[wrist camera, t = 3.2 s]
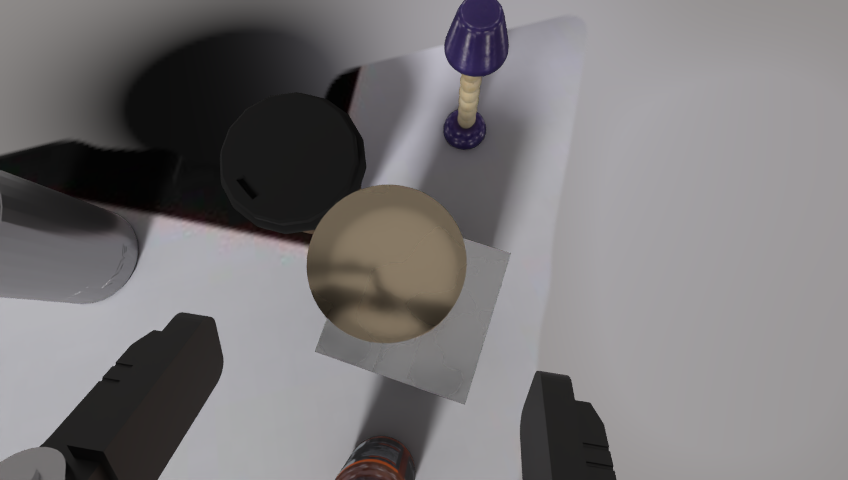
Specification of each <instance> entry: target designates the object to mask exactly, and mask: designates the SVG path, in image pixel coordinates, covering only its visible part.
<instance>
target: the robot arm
mask: <svg viewBox="0 0 848 480" xmlns="http://www.w3.org/2000/svg"><path fill="white" fill-rule="evenodd" d="M137 255H138V245H137V239H136V236H135V233H134V231H133V229H132V227H131V226H130V224H129V223H128V222H127V221H126V220H125V219H124V218H122V217H121V216H119V215H117V214H116V213H113V212H111V211H108V210H105V209H103V208H100V207H97V206H95V205H92V204H89V203H87V202H84V201H82V200H79V199H76V198H74V197H71V196H68V195H66V194H63V193H60V192H58V191H55V190H52V189H50V188H47V187H44V186H41V185H39V184H36V183H33V182H31V181H28V180H25V179H23V178H20V177H17V176H15V175H12V174H9V173H6V172H4V171H1V170H0V297H4V298H16V299H29V300H41V301H52V302H65V303H78V304H87V303H94V302H98V301H101V300H104V299H106V298H107V297H109V296H111V295H113V294H114V293H115V292H117V291H118V290H119V289H120V288H121V287H122V286H123V285H124V284H125V283H126V282H127V280H128V279H129V277H130V275H131V274H132V272H133V270H134V267H135V264H136V261H137ZM222 369H223V354H222V350H221V345H220V341H219V336H218V332H217V327H216V323H215V320H214V319H213V318H212V317H208V316H202V315H196V314H189V313H183V312H182V313H179V314H177V315H176V316H175V317H174V318H173V319H172V320H171V321H170V322H169V323H168V325H167V326H166V327H165V328H164V329H163V331H156V330H153V331H152V332H150V333H149V334H147V335H146V336H144V337H142V338H141V339H139V340H138V341H136V342H135V343H133V344H132V345H131V346H130V347H129V348H128V349H127V350H126V352H125V353H124V354H123V355H122V356H121V357H120V358H119V359H118V361H117V362H116V365H115V366H112V367H111V368H110V370H109V371H108V372H107V373H106V374H105V375H104V376H103V379H102V381H99V382H98V383H97V384H96V385H95V386H94V388H93V389H92V390H91V391H90V392H89V393H88V394H87V395H86V397H85V398H84V399H83V400H82V401H81V402H80V403H79V404H78V406H77V407H76V408H75V409H74V410H73V411H72V412H71V413H70V415H69V416H68V417H67V418H66V419H65V420H64V421H63V422H62V424H61V425H60V426H59V427H58V428H57V429H56V430H55V432H54V433H53V434H52V435H51V436H50V437H49V438H48V439H47V440H46V441H45V442H44V443H43V444H42V445H41V446H40V447H37V448H31V449H27V450H24V451H21V452H19V453H16V454H14V455H12V456H10V457H8V458H6V459H5V460H3V461H2V462H0V480H158V478H159V476H160V475H161V473H162V472H163V470H164V468H165V467H166V465H167V464H168V462H169V460H170V459H171V457H172V455H173V454H174V452H175V451H176V449H177V447H178V446H179V444H180V443H181V441H182V439H183V438H184V436H185V434H186V433H187V431H188V430H189V428H190V426H191V425H192V423H193V422H194V420H195V418H196V417H197V415H198V413H199V412H200V410H201V409H202V407H203V405H204V404H205V402H206V400H207V399H208V397H209V396H210V394H211V392H212V391H213V389H214V388H215V386H216V384H217V383H218V381H219V379H220V376H221V373H222ZM520 442H521V460H522V478H523V480H616V475H615V471H613V462H612V458H611V454H610V451H609V445H608V441H607V436H606V432H605V427H604V424H603V422H602V421H601V419H600V417H599V416H598V414H597V413H596V411H595V410H594V408H593V406H592V405H591V403H589V402H583V401H576V400H575V399H574V393H573V387H572V382H571V379H570V377H569V376H567V375H561V374H555V373H548V372H542V371H537V372H536V373H535V375H534V378H533V381H532V384H531V387H530V390H529V392H528V395H527V398H526V401H525V404H524V407H523V410H522V415H521V423H520Z"/></svg>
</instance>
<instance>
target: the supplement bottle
mask: <svg viewBox="0 0 848 480" xmlns="http://www.w3.org/2000/svg"><path fill="white" fill-rule="evenodd" d="M335 480H415V467H414V462H413V459H412V457H411V455H410V453H409V451H408V450H407V449H406V447H405V446H404V445H403V444H402V443H400V442H399V441H397V440H395V439H393V438H390V437H384V436H378V437H373V438H370V439H368V440H366V441H364V442H363V443H361V444H360V445H359V446H358V447H357V448H356V449H355V450H354V452H353V453H352V454H351V456H350V457H349V459H348V461H347V462H346V464H345V465H344V467H343V468H342V470H341V471H340V473H339V474H338V476H337V477H336V479H335Z"/></svg>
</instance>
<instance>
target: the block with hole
mask: <svg viewBox="0 0 848 480" xmlns="http://www.w3.org/2000/svg"><path fill="white" fill-rule="evenodd" d="M463 241H464V244H465V249H466V257H467V268H466V277H465V281H464V285H463V288H462V290H461V293H460V296H459V298H458V299H457V301H456V303H455V305H454V306H453V308H452V309H451V311H450V312H449V313H448V315H447V316H446V317H445V319H444V320H443V321H442V322H441V323H440V324H439V325H438V326H436V327H435V328H434V329H433V330H431V331H429V332H428V333H426V334H424V335H422V336H419V337H417V338H413V339H410V340H406V341H402V342H396V343H374V342H368V341H364V340H361V339H358V338H355V337H353V336H351V335H349V334H347V333H345V332H344V331H342V330H340V329H339V328H338V327H336V326H335V325H334V324H333V323H331V321H330V320H329V319H328V318H327V320H326V323H325V326H324V328H323V331H322V334H321V336H320V339H319V342H318V344H317V347H316V350H315V352H318V353H320V354H323V355H326V356H329V357H332V358H335V359H337V360H340V361H343V362H346V363H349V364H351V365H354V366H357V367H360V368H363V369H366V370H368V371H371V372H374V373H377V374H380V375H382V376H385V377H388V378H391V379H394V380H397V381H399V382H402V383H405V384H408V385H411V386H413V387H416V388H419V389H422V390H425V391H428V392H430V393H433V394H436V395H439V396H442V397H445V398H447V399H450V400H453V401H456V402H459V403H461V404H464V405H465V402H466V399H467V396H468V392H469V389H470V386H471V383H472V379H473V376H474V373H475V369H476V366H477V363H478V360H479V356H480V353H481V350H482V346H483V343H484V340H485V337H486V333H487V330H488V327H489V323H490V320H491V317H492V313H493V310H494V307H495V304H496V300H497V297H498V294H499V290H500V287H501V284H502V281H503V277H504V274H505V271H506V267H507V264H508V261H509V258H510V254H511V253H508V252H505V251H502V250H499V249H496V248H493V247H490V246H486V245H483V244H480V243H477V242H474V241H471V240H468V239H465V238H463Z"/></svg>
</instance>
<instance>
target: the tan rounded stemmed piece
mask: <svg viewBox="0 0 848 480" xmlns="http://www.w3.org/2000/svg"><path fill="white" fill-rule="evenodd" d="M466 268H467V257H466V249H465V244H464V241H463V237H462V234H461V232H460V230H459V228H458V226H457V224H456V222H455V221H454V219H453V217H452V216H451V215H450V214H449V213H448V211H447V210H446V209H445V208H444V207H443V206H442V205H441V204H440V203H439V202H437V201H436V200H434V199H433V198H432V197H430V196H428V195H426V194H425V193H423V192H421V191H418V190H415V189H413V188H409V187H405V186H399V185H378V186H371V187H368V188H364V189H361V190H358V191H356V192H354V193H352V194H350V195H348V196H346V197H344V198H343V199H342V200H340V201H339V202H338V203H336V204H335V205H334V206H333V207H332V208H331V209H330V210H329V211H328V212H327V213H326V214H325V216H324V217H323V218H322V219H321V221H320V223H319V224H318V226H317V227H316V230H315V232H314V234H313V236H312V239H311V242H310V245H309V250H308V255H307V276H308V281H309V286H310V289H311V292H312V295H313V297H314V299H315V301H316V303H317V305H318V307H319V308H320V310H321V311H322V312H323V314H324V315H325V316H326V317H327V318H328V319H329V320H330V321H331V323H333V324H334V325H335V326H336V327H338V328H339V329H340V330H342V331H344V332H345V333H347V334H349V335H351V336H353V337H355V338H358V339H361V340H364V341H368V342H374V343H396V342H402V341H406V340H410V339H413V338H417V337H419V336H422V335H424V334H426V333H428V332H429V331H431V330H433V329H434V328H435V327H436V326H438V325H439V324H440V323H441V322H442V321H443V320H444V319H445V317H446V316H447V315H448V313H449V312H450V311H451V309H452V308H453V306H454V305H455V303H456V301H457V299H458V298H459V296H460V293H461V290H462V288H463V285H464V281H465V277H466Z"/></svg>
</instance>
